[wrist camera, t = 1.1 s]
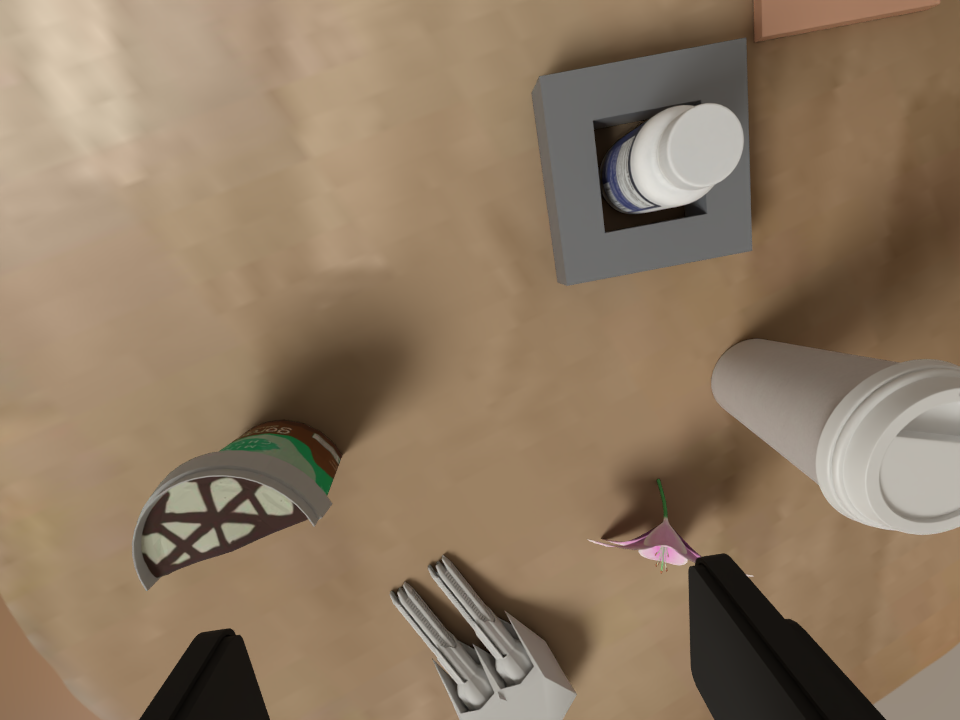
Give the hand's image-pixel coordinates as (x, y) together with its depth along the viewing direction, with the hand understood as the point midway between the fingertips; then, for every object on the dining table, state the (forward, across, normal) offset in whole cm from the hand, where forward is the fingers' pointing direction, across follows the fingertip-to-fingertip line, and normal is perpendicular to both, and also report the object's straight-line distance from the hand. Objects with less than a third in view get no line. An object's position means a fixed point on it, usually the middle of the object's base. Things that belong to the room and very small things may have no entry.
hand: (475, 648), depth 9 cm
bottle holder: (+26, -14, -11) cm, 32 cm away
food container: (+26, +16, +5) cm, 31 cm away
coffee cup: (+26, -23, +5) cm, 35 cm away
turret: (+27, +2, +28) cm, 39 cm away
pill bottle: (+26, -14, -11) cm, 32 cm away
